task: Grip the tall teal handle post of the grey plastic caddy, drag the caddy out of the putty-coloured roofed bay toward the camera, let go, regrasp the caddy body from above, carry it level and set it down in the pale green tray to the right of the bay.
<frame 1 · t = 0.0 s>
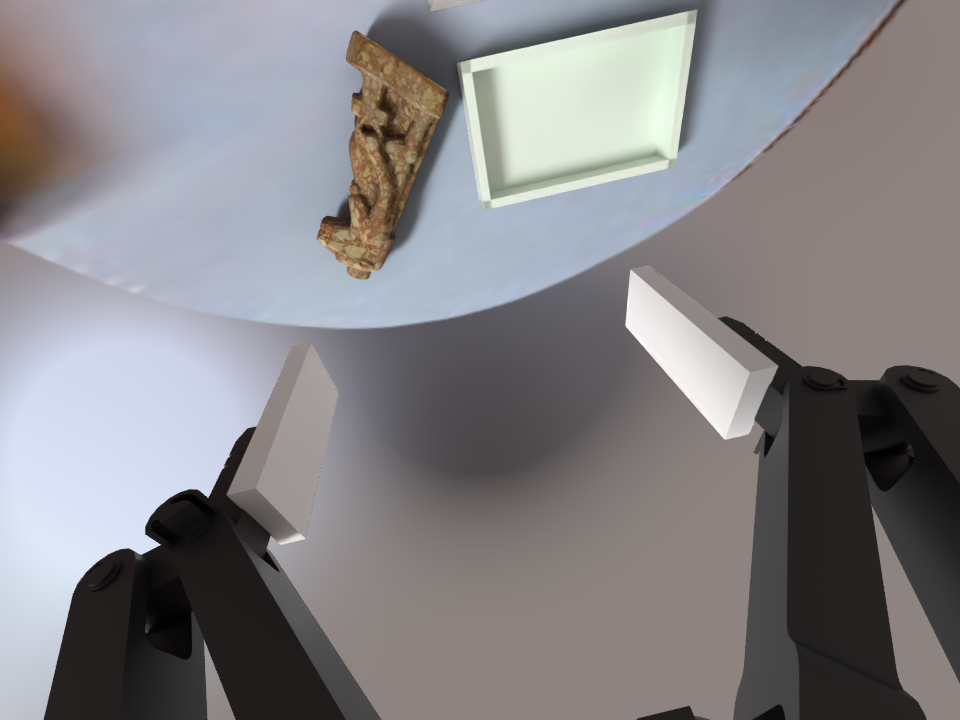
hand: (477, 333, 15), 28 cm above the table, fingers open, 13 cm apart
sculpture: (379, 171, 36), on the table
tray: (568, 117, 36), on the table
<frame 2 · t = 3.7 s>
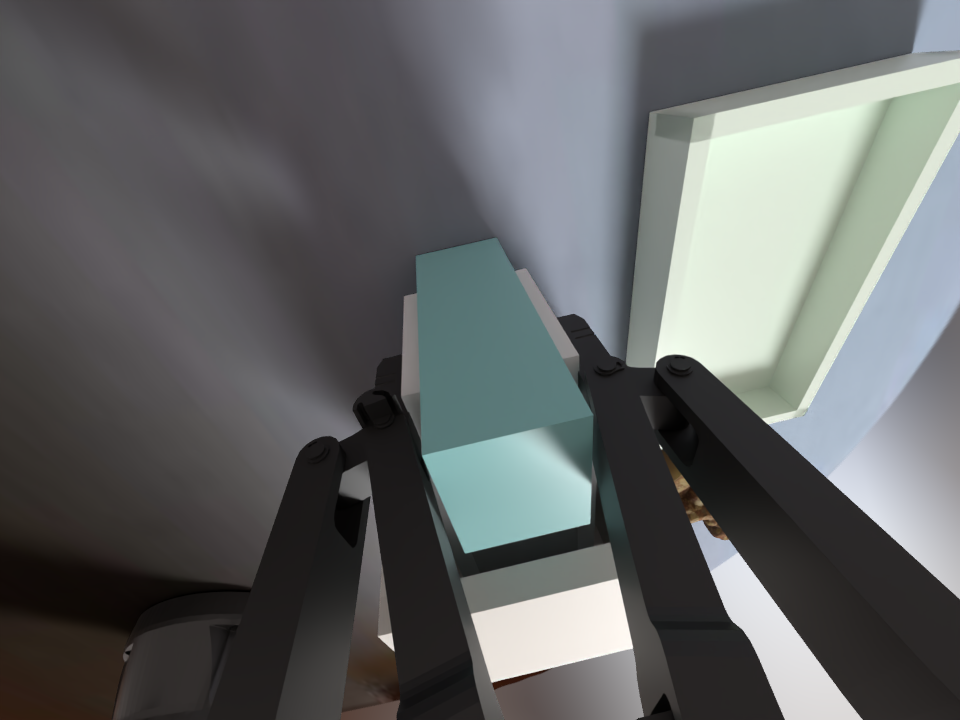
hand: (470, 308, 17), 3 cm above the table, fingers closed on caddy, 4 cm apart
caddy: (488, 393, 24), on the table, touching gripper
sculpture: (686, 466, 34), on the table
bay: (488, 394, 24), on the table
tray: (726, 287, 22), on the table
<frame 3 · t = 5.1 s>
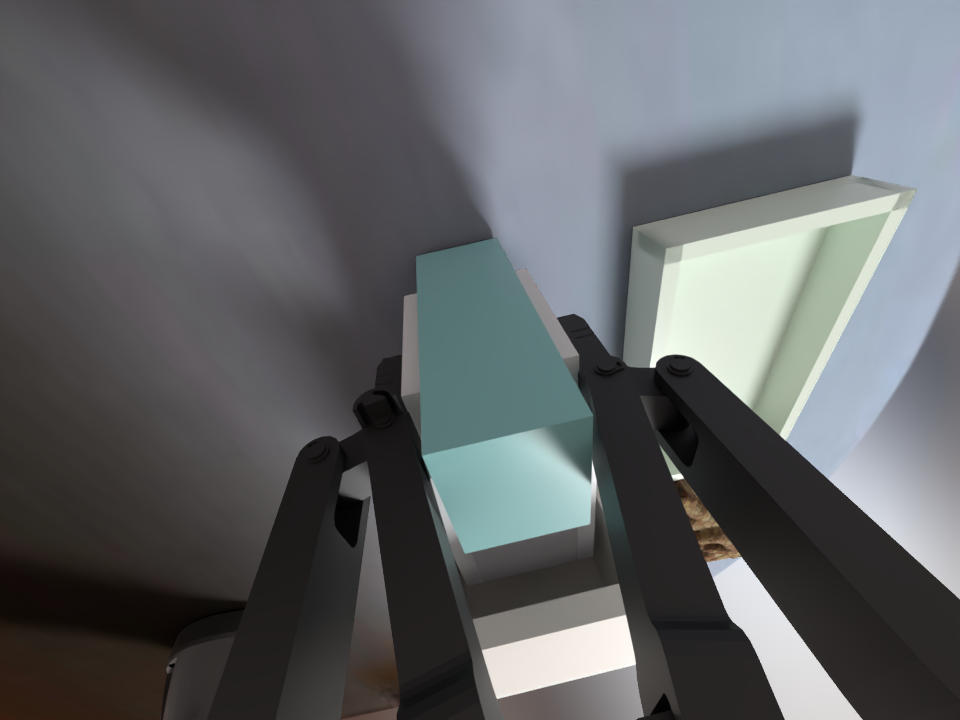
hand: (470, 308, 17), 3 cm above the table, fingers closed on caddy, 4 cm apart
caddy: (488, 394, 24), on the table, touching gripper
sculpture: (676, 493, 37), on the table
bay: (498, 440, 27), on the table
tray: (705, 350, 25), on the table
when the fingers open (3 cm above the table, at t = 6.4 s): caddy stays where it is, on the table.
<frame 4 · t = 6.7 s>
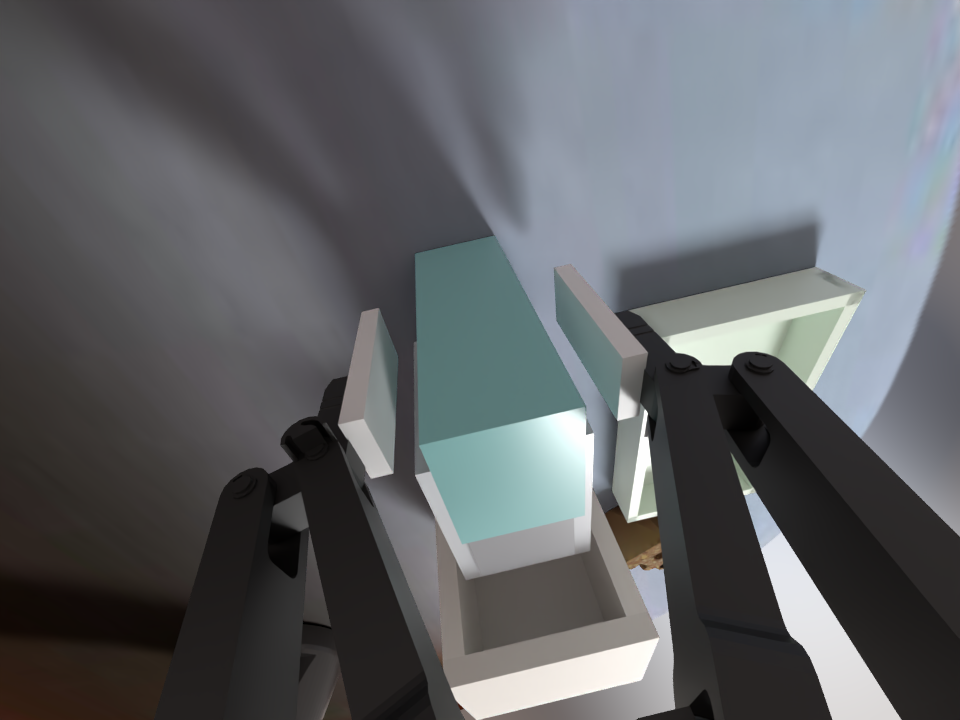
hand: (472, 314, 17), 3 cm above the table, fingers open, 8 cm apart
caddy: (487, 390, 24), on the table
sculpture: (669, 518, 40), on the table
bay: (507, 478, 30), on the table
tray: (692, 402, 28), on the table
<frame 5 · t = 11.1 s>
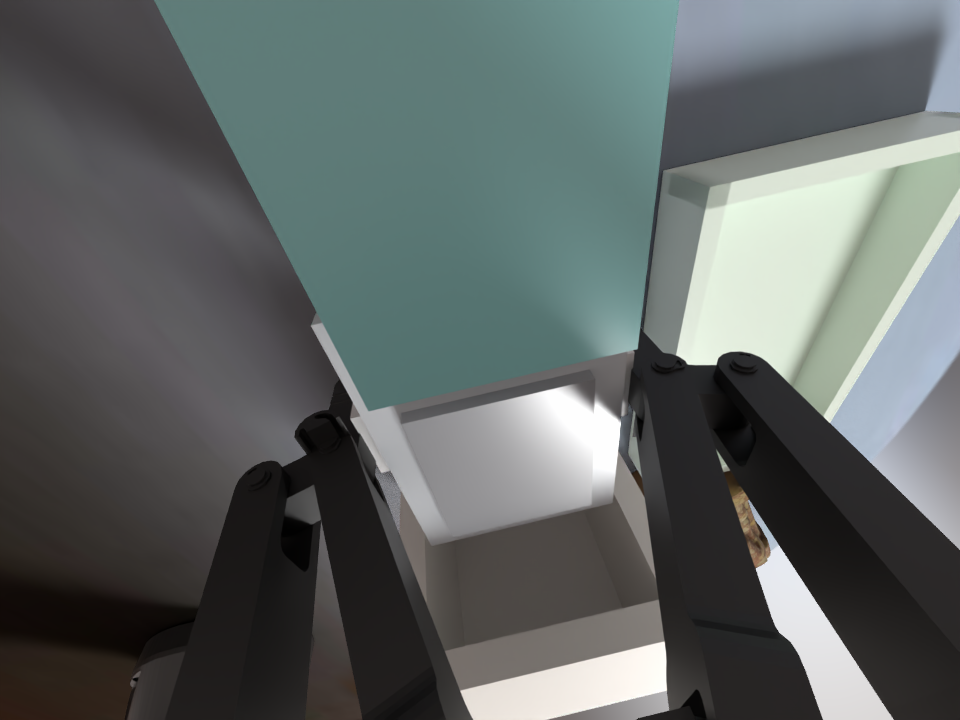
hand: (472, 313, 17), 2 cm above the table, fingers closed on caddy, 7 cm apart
caddy: (467, 297, 18), on the table, touching gripper
sculpture: (693, 494, 34), on the table
bay: (497, 431, 24), on the table
tray: (736, 329, 22), on the table
when the fingers open (3 cm above the table, at t = 16.7 s): caddy drops 1 cm, resting on tray.
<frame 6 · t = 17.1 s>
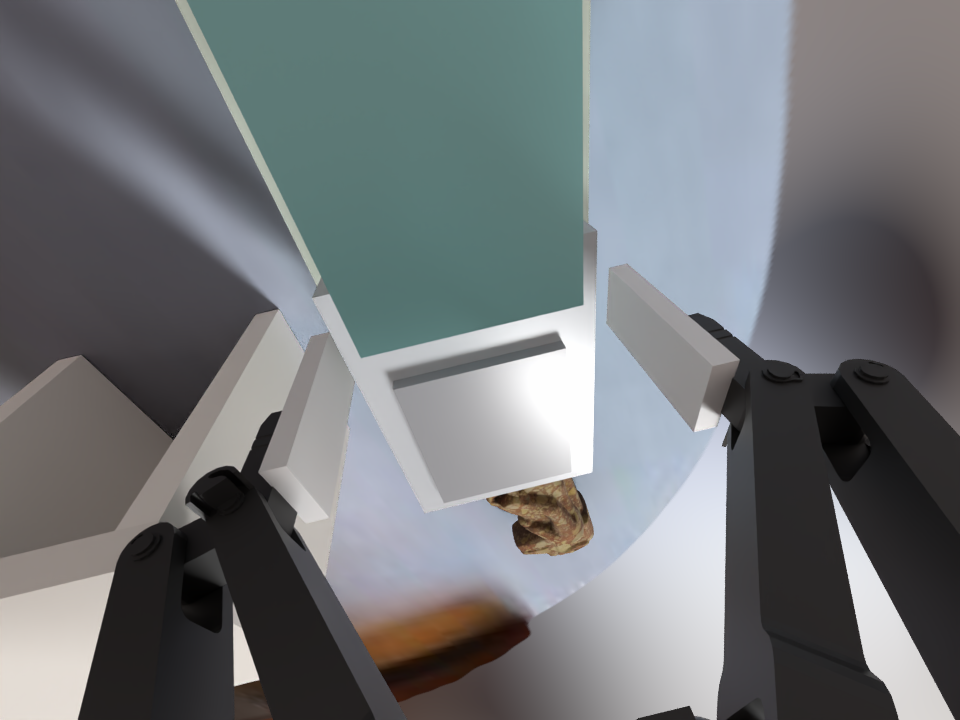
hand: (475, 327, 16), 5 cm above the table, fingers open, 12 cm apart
caddy: (458, 285, 19), point 1 cm above the table, touching tray
sculpture: (522, 458, 30), on the table
bay: (196, 367, 20), on the table
tray: (447, 233, 18), on the table
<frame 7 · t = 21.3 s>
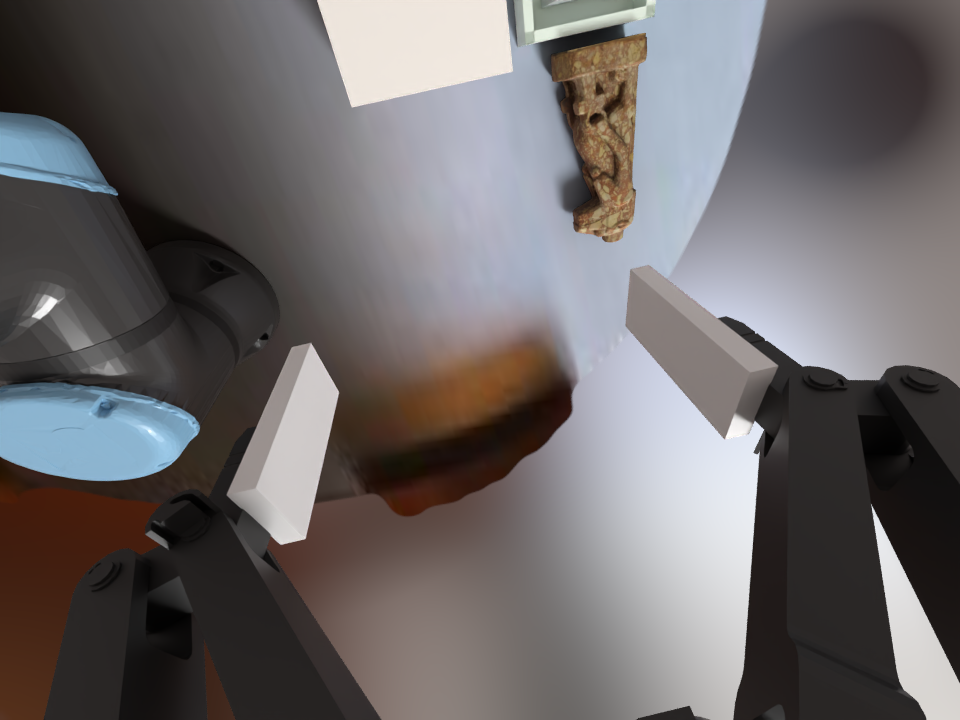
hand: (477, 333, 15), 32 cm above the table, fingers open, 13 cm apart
sculpture: (593, 146, 41), on the table
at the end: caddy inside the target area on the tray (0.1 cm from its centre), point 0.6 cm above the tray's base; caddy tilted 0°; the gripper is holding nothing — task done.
